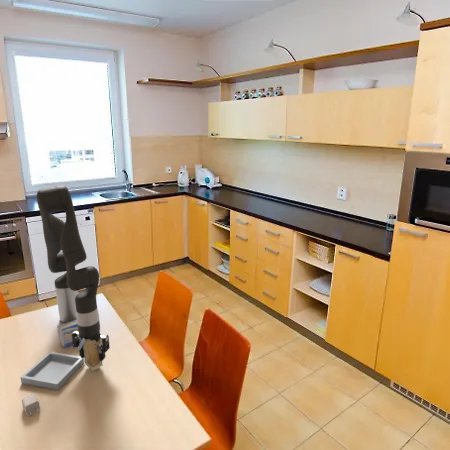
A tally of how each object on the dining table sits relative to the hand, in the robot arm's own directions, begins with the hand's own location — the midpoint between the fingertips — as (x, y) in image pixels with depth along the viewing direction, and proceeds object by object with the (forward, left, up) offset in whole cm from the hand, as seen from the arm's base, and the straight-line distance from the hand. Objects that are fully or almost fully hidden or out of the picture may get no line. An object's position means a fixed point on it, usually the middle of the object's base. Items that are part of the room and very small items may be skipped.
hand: (92, 358), depth 132 cm
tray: (+6, -13, -4) cm, 15 cm away
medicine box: (-13, -19, -5) cm, 23 cm away
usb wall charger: (+23, -7, -5) cm, 25 cm away
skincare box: (0, 0, -3) cm, 3 cm away
